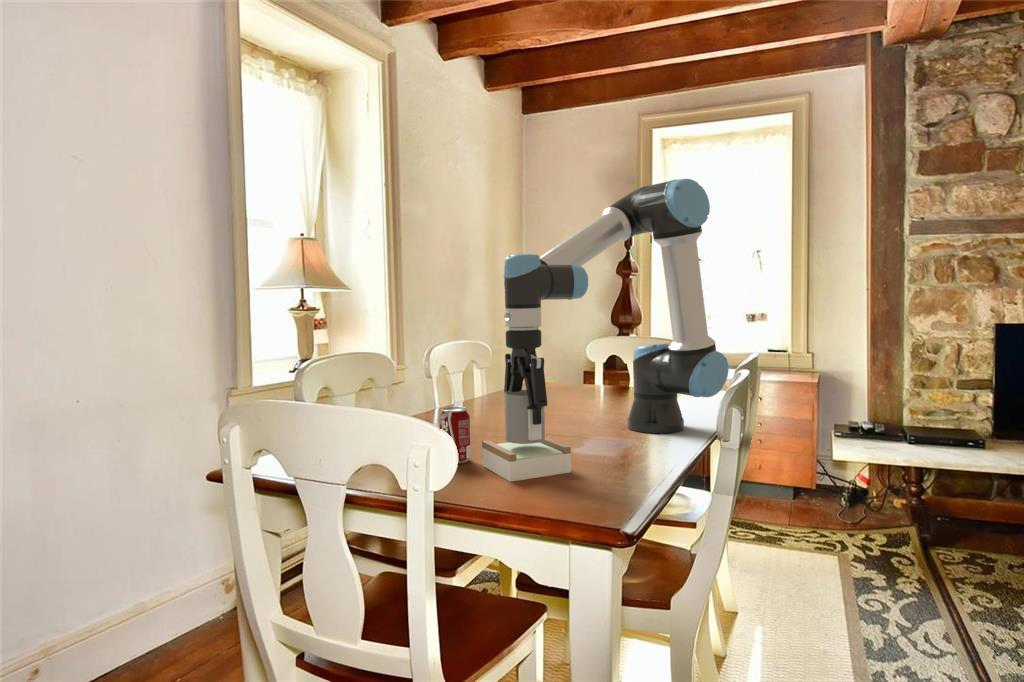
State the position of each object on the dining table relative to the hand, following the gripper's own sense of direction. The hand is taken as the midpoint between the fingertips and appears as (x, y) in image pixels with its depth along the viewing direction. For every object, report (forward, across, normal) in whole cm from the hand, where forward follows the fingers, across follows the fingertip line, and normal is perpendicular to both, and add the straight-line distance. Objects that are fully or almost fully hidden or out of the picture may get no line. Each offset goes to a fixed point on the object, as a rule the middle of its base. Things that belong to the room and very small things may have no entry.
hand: (525, 435), depth 136 cm
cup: (+1, 0, 0) cm, 1 cm away
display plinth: (+7, 0, 0) cm, 7 cm away
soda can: (+7, -13, -11) cm, 19 cm away
